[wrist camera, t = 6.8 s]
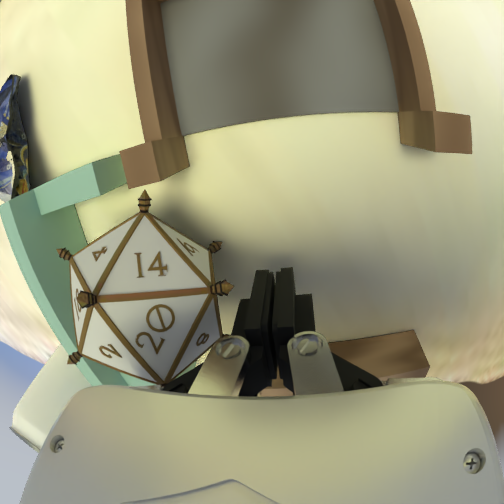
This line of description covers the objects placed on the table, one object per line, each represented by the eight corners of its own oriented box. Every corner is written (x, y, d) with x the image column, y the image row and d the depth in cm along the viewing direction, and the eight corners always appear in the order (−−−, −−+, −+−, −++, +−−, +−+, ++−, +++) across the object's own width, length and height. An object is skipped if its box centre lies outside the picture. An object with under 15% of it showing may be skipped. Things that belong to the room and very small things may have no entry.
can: (123, 385, 23) (78, 478, 12) (72, 357, 22) (20, 439, 12) (124, 351, 20) (62, 466, 9) (65, 317, 20) (-7, 412, 9)
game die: (186, 206, 18) (110, 118, 8) (278, 300, 16) (293, 304, 6) (100, 297, 17) (-13, 288, 7) (178, 392, 16) (95, 468, 6)
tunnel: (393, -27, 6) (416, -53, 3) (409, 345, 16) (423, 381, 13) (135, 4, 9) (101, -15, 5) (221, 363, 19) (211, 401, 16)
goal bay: (125, 152, 13) (62, 172, 8) (196, 362, 19) (178, 416, 15) (52, 181, 14) (-2, 207, 9) (128, 357, 20) (104, 401, 16)
